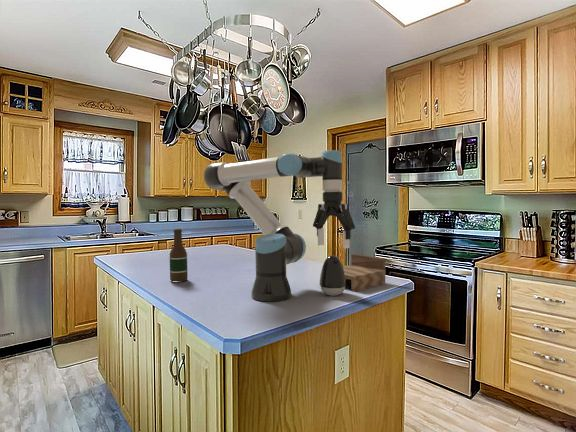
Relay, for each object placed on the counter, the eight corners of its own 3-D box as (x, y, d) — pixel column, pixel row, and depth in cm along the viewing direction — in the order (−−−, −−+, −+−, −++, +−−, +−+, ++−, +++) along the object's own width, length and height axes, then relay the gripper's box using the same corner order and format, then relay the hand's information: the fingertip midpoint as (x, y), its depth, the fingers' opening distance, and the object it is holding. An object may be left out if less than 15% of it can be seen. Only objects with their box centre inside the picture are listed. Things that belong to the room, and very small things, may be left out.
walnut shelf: (354, 291, 142) (354, 264, 141) (322, 283, 156) (322, 258, 155) (385, 283, 154) (385, 258, 153) (353, 277, 168) (353, 253, 167)
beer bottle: (188, 281, 163) (187, 229, 162) (170, 283, 160) (169, 230, 159) (186, 278, 170) (185, 228, 169) (169, 279, 167) (168, 228, 166)
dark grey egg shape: (325, 298, 132) (325, 258, 131) (315, 291, 142) (315, 254, 141) (350, 296, 135) (350, 256, 134) (339, 289, 145) (339, 252, 144)
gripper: (364, 190, 129) (364, 248, 130) (317, 192, 149) (318, 243, 149) (350, 190, 124) (351, 250, 125) (303, 192, 144) (304, 244, 145)
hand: (333, 246), depth 137 cm, fingers open, 13 cm apart
